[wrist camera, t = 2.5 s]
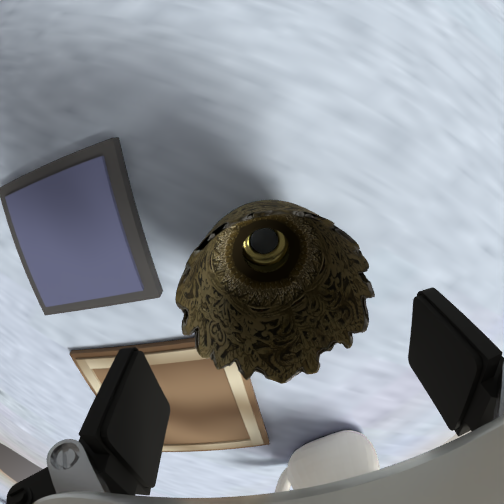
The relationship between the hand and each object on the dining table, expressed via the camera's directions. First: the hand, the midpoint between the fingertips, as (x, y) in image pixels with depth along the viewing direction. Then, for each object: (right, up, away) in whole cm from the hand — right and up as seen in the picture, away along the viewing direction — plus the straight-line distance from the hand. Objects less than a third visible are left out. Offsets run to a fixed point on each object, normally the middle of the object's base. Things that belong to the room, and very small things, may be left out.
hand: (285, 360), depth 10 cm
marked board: (-8, -10, +14) cm, 19 cm away
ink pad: (-13, +5, +8) cm, 16 cm away
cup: (0, +4, +9) cm, 10 cm away
